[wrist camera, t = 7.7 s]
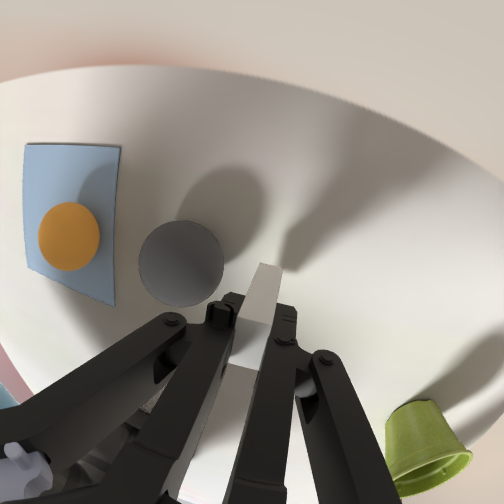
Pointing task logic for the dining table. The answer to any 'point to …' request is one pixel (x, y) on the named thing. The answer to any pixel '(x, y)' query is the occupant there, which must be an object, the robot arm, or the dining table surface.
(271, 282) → the robot arm
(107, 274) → the mark
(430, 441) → the plant pot
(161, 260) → the ball
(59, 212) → the ball
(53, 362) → the dining table surface
